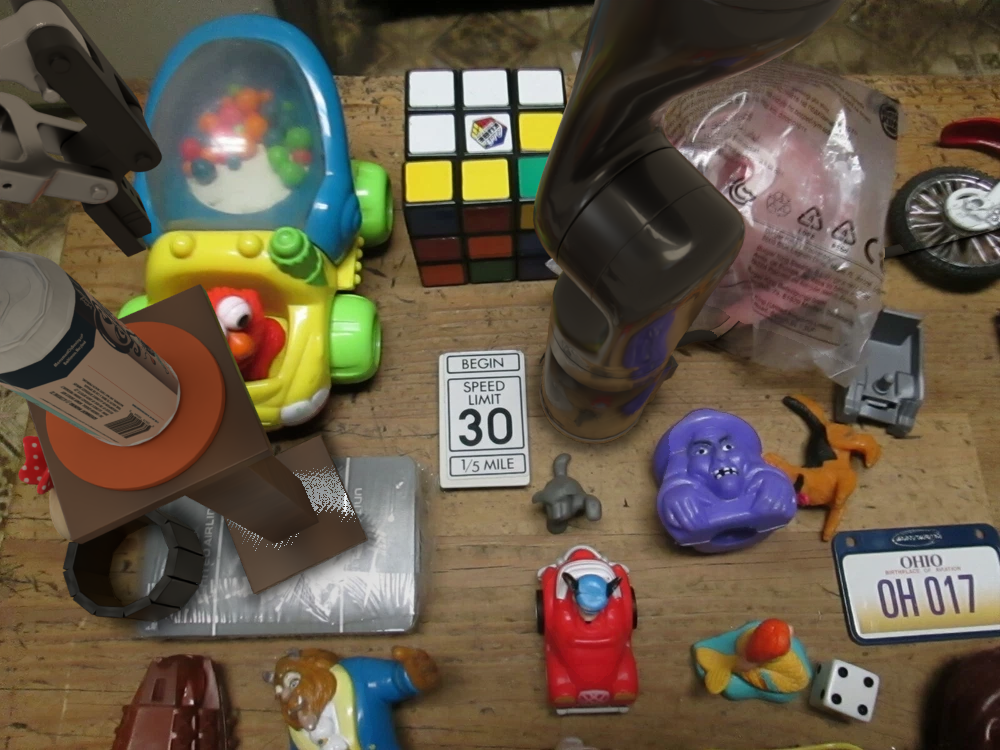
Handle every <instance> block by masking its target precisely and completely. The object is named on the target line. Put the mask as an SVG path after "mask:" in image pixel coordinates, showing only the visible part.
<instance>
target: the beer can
mask: <svg viewBox="0 0 1000 750" xmlns="http://www.w3.org/2000/svg"><path fill="white" fill-rule="evenodd" d="M119 319H120V318H118V317H117V316H116V315H115V314H114V313H113V312H111V310H109V309H108V308H107V307H106V306H105V305H104V304H103V303H101V302H100V301H99V300H98V299H96V298H95V296H93V295H92V294H91V293H90V292H89V291H88V290H87V289H85V287H83V286H82V285H81V284H80V283H79V282H78V281H77V280H76V279H75V278H73V277H72V276H71V275H70V274H69V273H68V272H67V271H66V270H64V269H63V267H62V266H60V265H59V264H58V263H57V262H55V260H54V261H53V260H52V259H50V258H48V257H45V256H43V255H41V254H38V253H31V252H25V251H9V250H4V249H0V386H1V387H3V388H5V389H7V390H9V391H11V392H13V393H15V394H16V395H18V396H19V397H22V398H23V399H24V400H26V399H27V400H29V401H30V402H32V403H34V404H36V405H38V406H39V407H41V408H43V409H45V410H47V411H48V412H50V413H52V414H54V415H56V416H57V417H59V418H61V419H63V420H64V421H66V422H68V423H70V424H72V425H73V426H75V427H77V428H79V429H81V430H82V431H84V432H86V433H88V434H90V435H91V436H93V437H95V438H97V439H98V440H100V441H103V442H105V443H108V444H111V445H116V446H133V445H137V444H140V443H142V442H145V441H148V440H150V439H151V438H153V437H155V436H156V435H158V434H159V433H160V432H161V431H162V430H163V429H164V428H165V427H166V426H167V425H168V424H169V423H170V421H171V420H172V418H173V416H174V415H175V413H176V411H177V408H178V404H179V400H180V385H179V381H178V378H177V375H176V374H175V372H174V371H173V369H172V367H171V366H170V365H169V364H168V363H167V362H165V361H164V360H163V359H162V358H161V357H160V356H159V355H158V354H157V353H156V352H154V351H153V350H152V349H151V348H150V347H149V346H148V345H147V344H146V343H144V342H143V341H142V340H141V339H140V338H139V337H138V336H137V335H136V334H134V333H133V332H132V331H131V330H130V329H129V328H128V327H127V326H125V325H124V324H123V323H122V322H121V321H120V320H119Z"/></svg>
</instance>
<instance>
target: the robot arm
mask: <svg viewBox="0 0 1000 750" xmlns="http://www.w3.org/2000/svg"><path fill="white" fill-rule="evenodd" d="M846 1H847V0H594V3H593V8H592V12H591V16H590V20H589V24H588V27H587V32H586V35H585V39H584V43H583V47H582V51H581V54H580V55H581V56H580V60H579V63H578V67H577V70H576V74H575V78H574V81H573V83H572V84H573V85H572V86H571V87H572V88H571V91H570V93H569V96H568V100H567V103H566V105H565V108H564V110H563V111H564V112H563V113H562V117H561V118H560V119H561V120H560V122H559V125H558V128H557V130H556V133H555V136H554V139H553V142H552V144H551V147H550V150H549V153H548V156H547V159H546V162H545V164H544V167H543V170H542V173H541V177H540V180H539V183H538V186H537V190H536V193H535V197H534V198H535V199H534V204H533V212H532V217H533V219H532V222H533V228H534V232H535V235H536V237H537V239H538V241H539V242H540V244H541V247H542V248H543V249H544V250H545V252H546V253H547V254H548V256H549V257H550V258H551V260H553V261H554V263H555V264H556V265H557V266H559V268H560V269H561V272H560V274H559V275H558V278H557V280H556V281H555V285H554V287H553V291H552V295H551V302H550V310H549V319H548V325H547V326H548V327H547V334H546V343H545V349H544V353H543V355H542V356H541V358H540V359H539V363H538V366H541V364H542V362H543V364H542V365H543V366H542V372H541V375H540V380H539V386H538V387H539V389H538V393H539V394H538V396H539V402H540V407H541V409H542V411H543V413H544V415H545V417H546V419H547V420H548V422H549V424H551V425H552V427H553V428H555V429H556V431H558V432H559V433H560V434H562V435H563V436H565V437H567V438H568V439H570V440H573V441H575V442H580V443H583V444H589V445H590V444H591V445H592V444H593V445H596V444H604V443H610V442H612V441H615V440H617V439H619V438H621V437H623V436H624V435H626V434H627V433H628V432H629V431H631V430H632V429H633V428H634V426H635V425H636V424H637V423H638V421H639V420H640V417H642V414H643V412H644V409H645V407H646V405H648V404H650V403H652V402H653V401H654V399H655V397H656V396H657V394H658V392H659V390H660V388H661V387H662V385H663V384H664V382H666V381H668V380H670V379H672V377H673V376H674V374H675V372H676V370H677V369H678V367H679V363H678V361H677V360H676V358H675V356H674V355H673V354H674V352H675V350H676V349H678V348H681V347H683V346H686V345H690V344H692V343H697V342H713V341H716V340H718V339H720V338H721V337H722V336H721V335H720V336H719V337H718V338H717V335H716V334H714V332H712V331H710V330H711V329H694V330H691V331H688V330H689V329H690V328H691V326H692V325H693V323H694V322H695V320H696V319H697V318H698V316H699V315H700V313H701V312H702V310H703V308H704V306H705V305H706V303H707V302H708V300H709V298H710V297H711V295H713V293H714V291H715V290H716V289H717V288H718V286H719V285H720V283H721V281H722V280H723V279H724V278H725V276H726V275H727V274H728V272H729V270H730V269H731V268H732V267H733V266H732V265H733V264H734V263H735V262H736V260H737V259H738V257H739V253H740V252H741V250H742V247H743V246H744V242H745V238H746V234H747V233H746V229H747V227H746V226H747V225H746V221H745V217H744V216H743V214H742V212H741V211H740V210H739V208H737V207H736V205H734V203H732V202H731V201H730V200H729V198H727V197H726V196H725V194H723V192H721V190H719V189H718V188H717V187H716V185H714V184H713V183H712V182H711V181H710V180H709V179H708V178H707V177H706V176H705V175H704V174H703V173H702V172H701V171H700V170H699V169H698V168H697V167H696V166H695V165H694V164H693V163H692V162H691V161H690V160H689V159H688V158H687V157H686V156H685V155H684V154H683V153H682V152H681V151H680V150H679V149H677V147H676V146H674V144H672V142H671V141H670V140H669V138H668V135H667V133H666V129H665V121H666V120H665V119H666V115H667V113H668V110H669V107H670V105H671V103H673V102H675V101H676V100H679V99H680V98H682V97H684V96H686V95H688V94H691V93H693V92H695V91H698V90H702V89H705V88H707V87H710V86H713V85H715V84H718V83H721V82H723V81H726V80H729V79H732V78H734V77H737V76H740V75H743V74H745V73H747V72H749V71H752V70H754V69H756V68H758V67H760V66H763V65H765V64H767V63H769V62H770V61H771V62H772V61H774V59H777V58H779V57H781V56H782V55H784V54H786V53H788V52H791V51H792V50H793V49H795V48H796V47H798V46H800V45H802V43H804V42H805V41H807V40H808V39H809V38H810V37H812V36H813V35H814V34H816V32H818V31H819V30H820V29H821V28H823V27H824V26H825V25H826V24H828V23H829V21H831V20H832V18H833V17H834V16H835V15H836V13H837V12H838V11H839V10H840V9H841V7H842V6H843V5H844V4H845V2H846ZM9 2H10V6H11V9H12V11H13V13H12V14H11V15H9V16H6V17H4V18H2V19H0V82H11V83H16V84H18V85H20V86H23V87H24V88H25V89H27V90H28V91H30V92H32V93H35V94H39V95H40V96H41V99H42V101H44V102H46V103H49V104H55V103H57V102H59V101H60V100H61V99H62V100H63V101H64V102H65V103H66V104H67V105H68V106H69V107H70V108H71V109H72V111H73V112H74V113H75V114H76V115H77V116H78V117H79V118H80V119H81V120H82V121H83V123H81V122H77V121H73V120H70V119H66V118H62V117H58V116H54V115H51V114H47V113H44V112H39V111H37V110H35V109H34V108H32V106H30V105H29V104H28V102H26V101H25V100H24V99H23V98H21V97H19V96H17V95H15V94H11V93H9V92H4V91H2V90H1V91H0V200H2V201H8V202H13V203H20V204H25V205H31V204H35V203H37V201H38V200H39V198H40V197H41V196H45V197H50V198H51V197H52V198H56V199H57V198H58V199H62V200H69V201H74V202H80V203H81V205H82V206H81V207H82V209H83V211H84V213H85V214H86V215H87V216H88V217H89V218H90V219H91V220H92V221H93V222H94V223H95V224H96V225H97V227H99V228H100V230H101V231H102V232H103V233H104V234H105V235H106V236H107V237H108V238H109V239H110V240H111V241H112V242H113V244H114V245H116V247H117V248H118V249H119V250H120V251H121V252H122V253H123V254H124V255H125V256H126V257H127V258H131V257H132V256H135V255H137V254H139V253H141V252H144V251H147V246H146V243H145V241H144V238H143V237H146V236H147V235H150V234H152V233H153V232H152V222H151V220H150V217H149V215H148V212H147V209H146V208H145V205H144V203H143V201H142V198H141V196H140V194H139V192H138V191H137V190H136V189H135V187H134V186H133V185H132V183H130V181H129V180H128V178H127V177H126V175H127V174H128V173H129V172H133V173H146V172H150V171H152V170H154V169H155V168H157V167H158V166H159V165H160V164H161V162H162V160H163V155H162V152H161V150H160V147H159V145H158V142H157V141H156V139H154V137H153V135H152V133H151V130H150V128H149V126H148V124H147V121H146V119H145V117H144V113H143V112H144V111H143V108H142V106H141V104H140V100H139V98H138V97H137V96H136V94H135V93H134V92H133V91H132V89H131V88H130V87H129V85H128V84H127V83H126V82H125V80H124V78H122V76H121V75H120V74H119V72H118V71H117V70H116V68H115V67H114V65H112V64H111V61H109V60H108V58H107V57H106V56H105V55H104V53H103V52H102V51H101V49H100V48H99V46H98V45H97V43H95V42H94V40H93V39H92V38H91V36H90V35H89V34H88V33H87V31H86V30H85V29H84V27H83V26H82V24H81V23H80V22H79V21H78V20H77V18H76V17H75V16H74V15H73V13H72V12H71V11H70V10H69V8H68V7H67V5H66V4H65V3H64V2H63V0H9ZM50 154H51V155H55V156H59V157H62V159H63V160H62V159H58V158H55V157H53V156H51V155H50ZM903 243H904V242H903ZM903 243H902V242H901V243H898V244H893V245H889V246H885V247H884V248H885V258H884V259H887V258H888V259H889V258H892V257H896V256H897V257H898V256H901V255H904V254H909V253H911V252H909V251H908V250H907V251H904V249H903V247H902V246H901V245H900V244H903Z"/></svg>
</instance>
